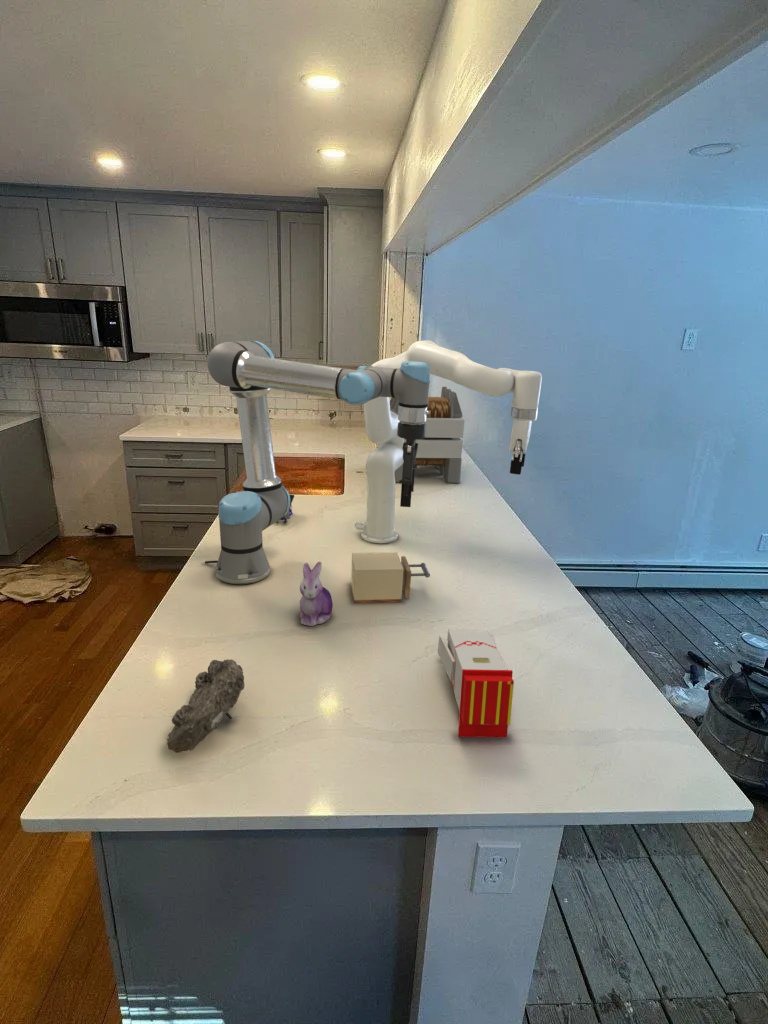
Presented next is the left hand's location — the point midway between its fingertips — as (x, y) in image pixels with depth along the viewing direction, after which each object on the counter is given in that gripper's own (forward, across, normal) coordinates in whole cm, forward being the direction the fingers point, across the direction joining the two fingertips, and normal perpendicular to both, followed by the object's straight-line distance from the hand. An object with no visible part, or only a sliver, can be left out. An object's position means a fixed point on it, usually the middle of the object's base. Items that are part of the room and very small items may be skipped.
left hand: (407, 498), depth 157 cm
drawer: (+25, -7, +1) cm, 26 cm away
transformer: (+26, +117, 0) cm, 120 cm away
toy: (+25, -48, -18) cm, 57 cm away
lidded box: (+26, -9, +7) cm, 28 cm away
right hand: (-5, +22, -32) cm, 39 cm away
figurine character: (+26, +42, +47) cm, 68 cm away
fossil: (+26, -64, +32) cm, 76 cm away
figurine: (+26, -25, +20) cm, 41 cm away
